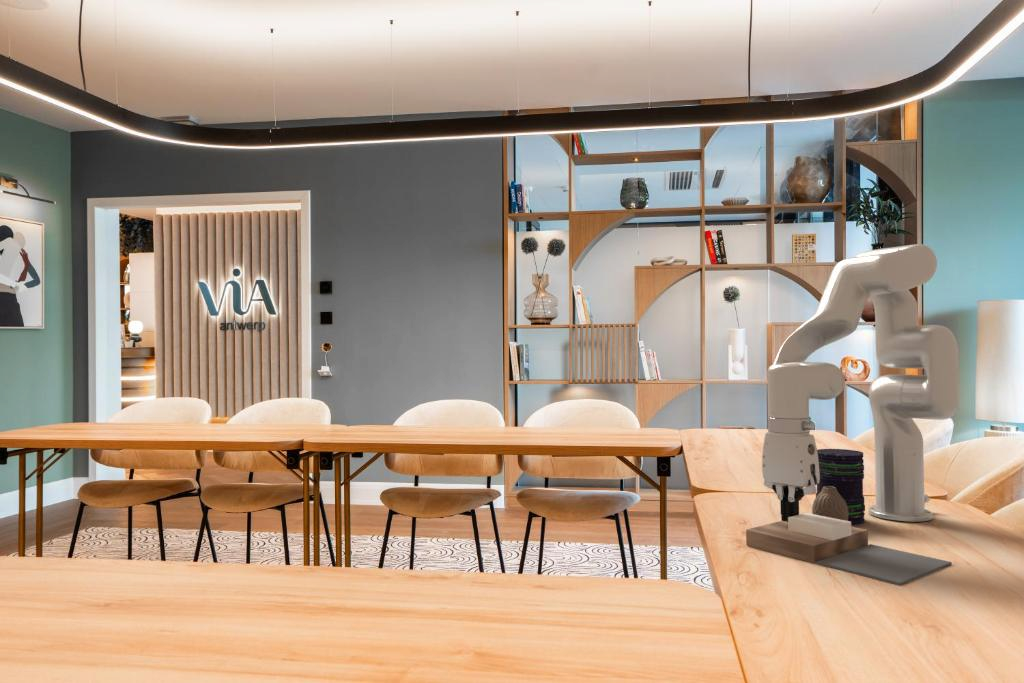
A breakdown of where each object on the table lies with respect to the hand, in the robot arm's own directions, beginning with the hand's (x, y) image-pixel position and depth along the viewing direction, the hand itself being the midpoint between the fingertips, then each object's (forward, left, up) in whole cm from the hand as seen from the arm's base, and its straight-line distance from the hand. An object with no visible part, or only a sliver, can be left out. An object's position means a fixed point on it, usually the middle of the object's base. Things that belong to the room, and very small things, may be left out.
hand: (789, 520), depth 134 cm
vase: (-15, -1, -4) cm, 16 cm away
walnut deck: (0, +3, -4) cm, 5 cm away
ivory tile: (0, +6, -1) cm, 6 cm away
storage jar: (-24, -4, -4) cm, 25 cm away
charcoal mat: (0, +18, -4) cm, 18 cm away
